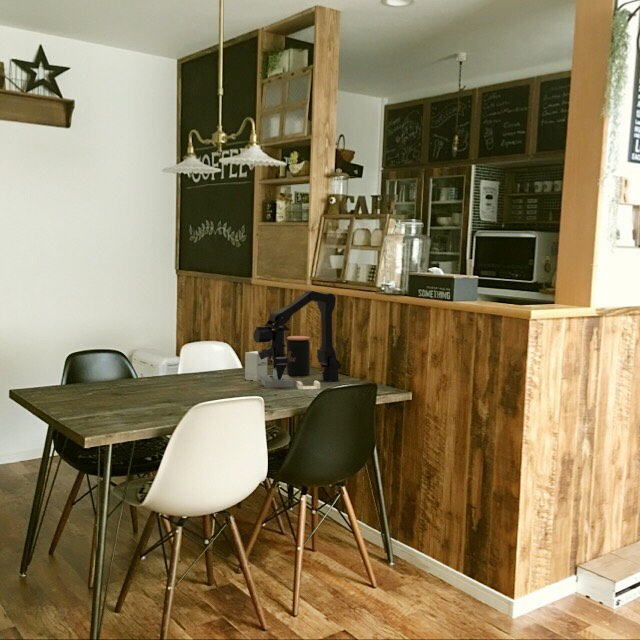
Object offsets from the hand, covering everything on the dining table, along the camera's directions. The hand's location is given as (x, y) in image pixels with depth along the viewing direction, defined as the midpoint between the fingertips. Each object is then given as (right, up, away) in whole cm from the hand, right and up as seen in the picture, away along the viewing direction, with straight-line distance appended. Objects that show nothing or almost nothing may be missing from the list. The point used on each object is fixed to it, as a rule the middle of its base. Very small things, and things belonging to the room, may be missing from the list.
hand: (277, 378), depth 311 cm
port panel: (-1, -4, +4) cm, 5 cm away
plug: (0, -3, 0) cm, 3 cm away
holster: (+13, -4, -4) cm, 14 cm away
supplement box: (-11, -3, +20) cm, 23 cm away
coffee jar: (+8, -2, +35) cm, 36 cm away
